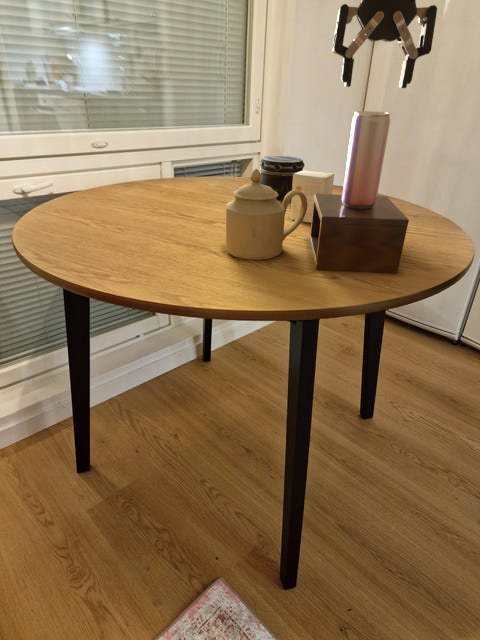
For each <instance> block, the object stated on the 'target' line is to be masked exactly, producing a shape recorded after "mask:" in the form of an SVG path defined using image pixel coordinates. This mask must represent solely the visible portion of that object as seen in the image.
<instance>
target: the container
mask: <svg viewBox="0 0 480 640" xmlns="http://www.w3.org/2000/svg"><path fill="white" fill-rule="evenodd" d="M258 164H259V166H260V168H259V172H260V174H261V180H260V184H262V185H265V186H269V187H271V188H272V189H273V190H274V191H275V192H277V193H278V196H277V197H276V199H277V200H284V197H285V196H286V194H287V193H289V192H290V191H292V185H293V174H295V173H297V172H300V171H303V170H304V168H305V163H304V160H303V158H300V157H297V156H289V155H266V156H262V157H261V159H260V160H259V162H258ZM290 200H292V198H291V199H290Z"/></svg>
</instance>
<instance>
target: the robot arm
mask: <svg viewBox="0 0 480 640" xmlns="http://www.w3.org/2000/svg"><path fill="white" fill-rule="evenodd" d="M437 13H438V6H437V5H435V4H432V5H430V6H425V7H424V6H423V7H417V0H361V1H360V4H359V5H358V6H349V5H348V4H347V3H343V4H342V5H341V6H340V7H339V8H338V10H337V16H336V24H335V30H334V36H333V42H332V49H331V50H332V53H333V54H334V55H338V56H340V57H341V59H342V68H341V77H340V80H341V83H344V87H345V88H350V87H351V86H352V78H353V70H354V63H355V58H354V56H355V54H356V53H357V52H358V50H359V49H360V48H361V46H362V45H363V44H364V43H365V42H366V40H368V41H369V42H372V43H373V42H374V43H375V42H378V41H383V42H386V43H391V42H394V41H396V43H397V45H398V46H399V47H400V49H401V51H402V53H403V55H404V57H405V59H404V60H402V65H401V69H400V76H399V82H398V89H407V86H408V85H410V84H411V82H412V80H413V76H414V71H415V70H414V69H415V65H416V61H417V60H418V58H421V57H423V56H426V55H429V54H430V53H431V51H432V48H433V41H434V32H435V25H436V22H437V21H436V20H437ZM354 17H356V19H357V21H358V24H359V26H360V28H361V29H360V31H358V33H357V34H356V36H355V37H354V38H353V40H352V41H351V42H350V44H349V45H348V46H346V45H344V40H345V35H346V34H345V33H346V28H347V25H349V24H350V23H351V22H352V21H353V18H354ZM415 18H417V24H419V26H421V27H420V35H419V42H418V47H416V46H415V43H414V41H413V40H414V39H413V37H412V34H411V32H410V29H409V26H410V24H411V23H412V22H413V21H414V19H415Z"/></svg>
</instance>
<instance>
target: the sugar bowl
mask: <svg viewBox="0 0 480 640" xmlns="http://www.w3.org/2000/svg"><path fill="white" fill-rule="evenodd" d="M250 180H251V183H248V184H245V185H242V186H240V187H239V188H237V189H235V190H234V191H233V192H232V195H233V196H234V198H233V199H232V201H230V202H228V203H226V204H225V211H224V212H225V214H224V215H225V218H224V221H225V222H224V227H225V228H224V230H225V231H224V233H225V234H224V235H225V251H226V252H227V254H229V255H230V256H233V257H234V258H238V259H243V260H253V261H254V260H255V261H258V260H259V261H260V260H269V259H272V258H276V257H278V256H279V255H280V254H281V253H282V251H283V243H284V241H285V239H286V238H287V237H288V236H290V235H291V234H292V233H293V232H294V231H295V230H297V229H298V227H299V226H300V225H301V224H302V223H303V219H304V217H305V214H306V211H307V198H306V196H305V194H304V193H303V192H301V191H299V190H292V191H290V192H289V193H287V194H286V196H285V197H284V199H282V202H281V203H280V202H279V201H278V199H276V197H277V196H278V193H277V192H275V191H274V190H273V189H272V188H271V187H269V186H265V185H262V184H260V180H261V172H260V169H257V168H255V169H253V170H252V172H251V174H250ZM295 195H299V197H300V199H301V209H300V212H299V214H298V216H297V218H296V220H293V221H292V223H291V224H289V226H288V227H287V228H285V219H286V217H285V216H286V213H287V209H288V206H289V203H290V201H291V200H292V199H291V198H292V197H293V196H295Z"/></svg>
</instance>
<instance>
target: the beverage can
mask: <svg viewBox="0 0 480 640" xmlns="http://www.w3.org/2000/svg"><path fill="white" fill-rule="evenodd" d="M390 116H391V113H390V112H387V111H374V110H373V111H372V110H371V111H370V110H369V111H368V110H366V111H365V110H362V111H360V110H359V111H354V115H353V117H352V119H351V128H350V136H349V142H348V149H347V158H346V165H345V172H344V179H343V185H342V186H343V187H342V194H341V195H342V203H343V205H344V206H346V207H349V208H354V209H370V208H372V207H373V206H374V205H375V204H376V200H377V196H378V193H379V188H380V184H381V183H380V182H381V176H382V171H383V165H384V159H385V153H386V148H387V142H388V138H389V137H388V136H389V131H390V125H391V117H390Z"/></svg>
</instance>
